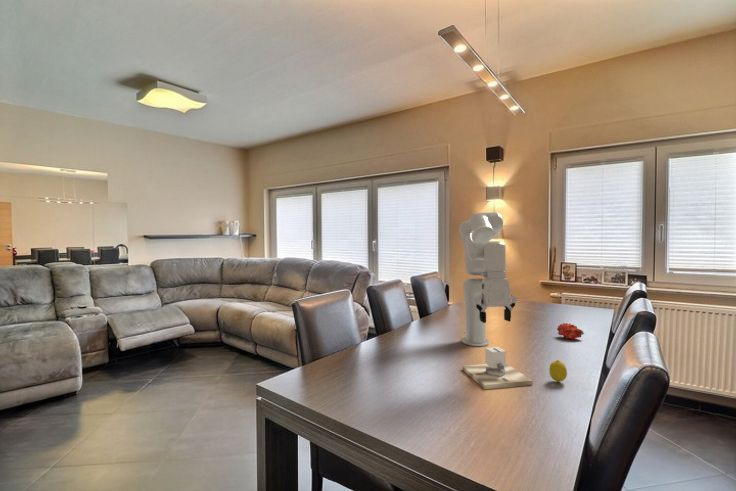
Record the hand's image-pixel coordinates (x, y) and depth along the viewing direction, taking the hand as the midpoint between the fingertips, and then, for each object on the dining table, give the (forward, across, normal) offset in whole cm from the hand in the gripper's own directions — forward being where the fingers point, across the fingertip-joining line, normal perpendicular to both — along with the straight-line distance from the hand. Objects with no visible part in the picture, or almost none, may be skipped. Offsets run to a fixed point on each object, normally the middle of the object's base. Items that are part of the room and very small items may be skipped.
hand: (495, 321), depth 130 cm
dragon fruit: (+21, +61, +36) cm, 74 cm away
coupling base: (+21, 0, 0) cm, 21 cm away
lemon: (+21, +19, -8) cm, 30 cm away
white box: (+17, 0, -1) cm, 17 cm away
